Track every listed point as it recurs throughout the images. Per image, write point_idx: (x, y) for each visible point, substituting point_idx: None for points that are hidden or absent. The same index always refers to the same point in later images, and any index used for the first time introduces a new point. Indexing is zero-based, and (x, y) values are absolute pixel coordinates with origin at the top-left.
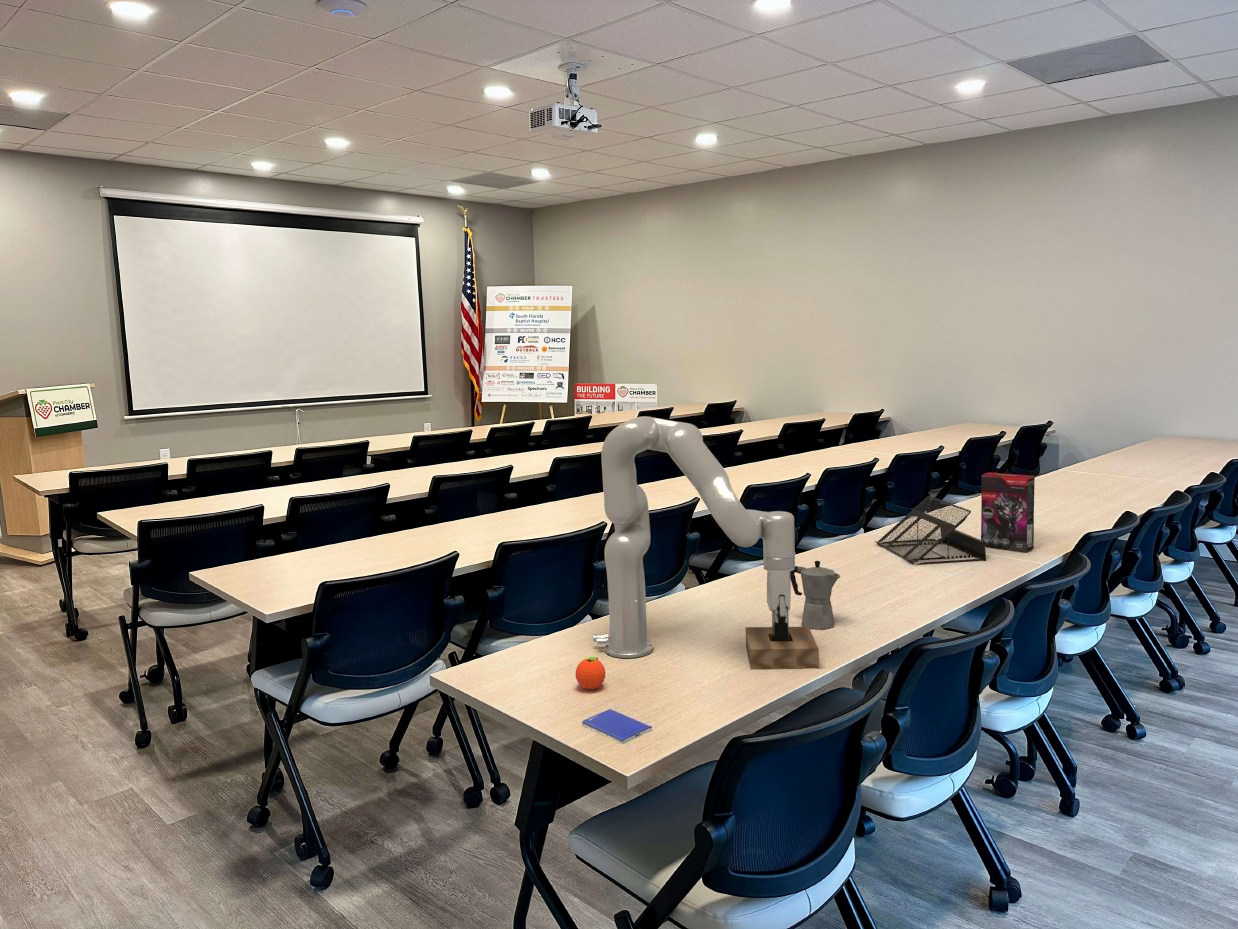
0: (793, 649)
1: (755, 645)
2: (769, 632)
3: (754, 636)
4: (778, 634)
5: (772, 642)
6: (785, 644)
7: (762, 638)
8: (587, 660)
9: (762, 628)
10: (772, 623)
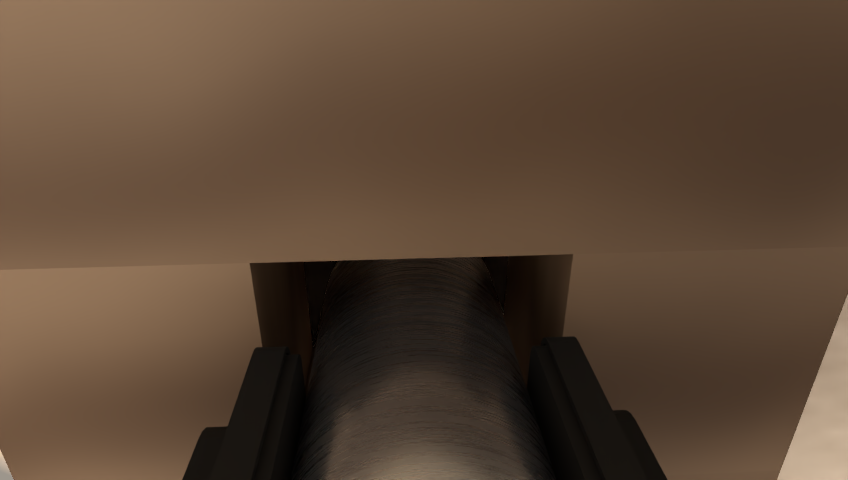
0: (20, 478)
1: (7, 20)
2: (628, 275)
3: (476, 40)
4: (199, 436)
5: (207, 287)
6: (148, 422)
7: (371, 164)
8: None
9: (823, 195)
10: (396, 469)
